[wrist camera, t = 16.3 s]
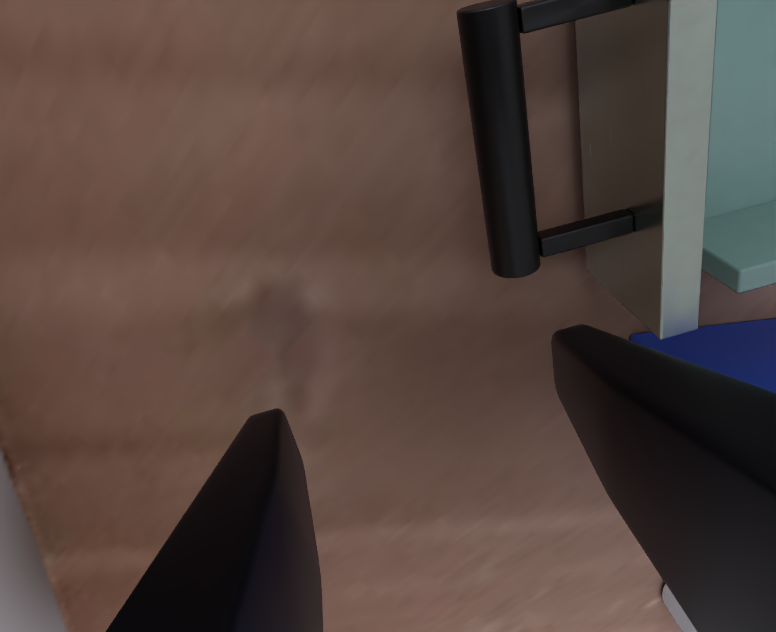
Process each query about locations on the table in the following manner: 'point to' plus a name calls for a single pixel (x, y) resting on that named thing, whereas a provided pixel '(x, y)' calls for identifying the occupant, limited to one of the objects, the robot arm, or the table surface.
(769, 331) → the carton
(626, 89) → the drawer
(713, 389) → the robot arm
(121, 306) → the table surface
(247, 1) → the table surface
